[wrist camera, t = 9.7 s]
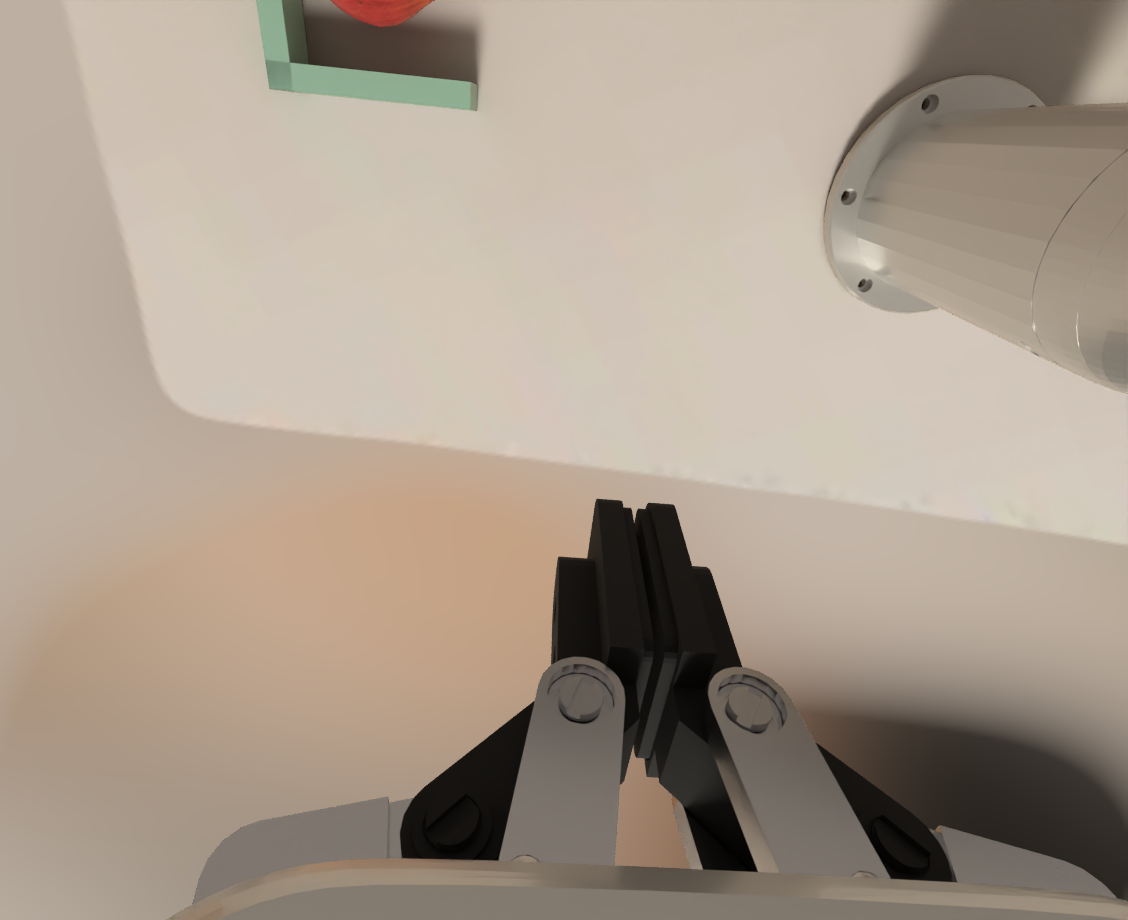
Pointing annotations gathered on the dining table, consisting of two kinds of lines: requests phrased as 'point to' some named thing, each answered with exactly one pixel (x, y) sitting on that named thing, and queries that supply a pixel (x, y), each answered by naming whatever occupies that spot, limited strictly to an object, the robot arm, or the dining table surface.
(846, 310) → the dining table surface
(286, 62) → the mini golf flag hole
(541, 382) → the dining table surface
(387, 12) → the onion
